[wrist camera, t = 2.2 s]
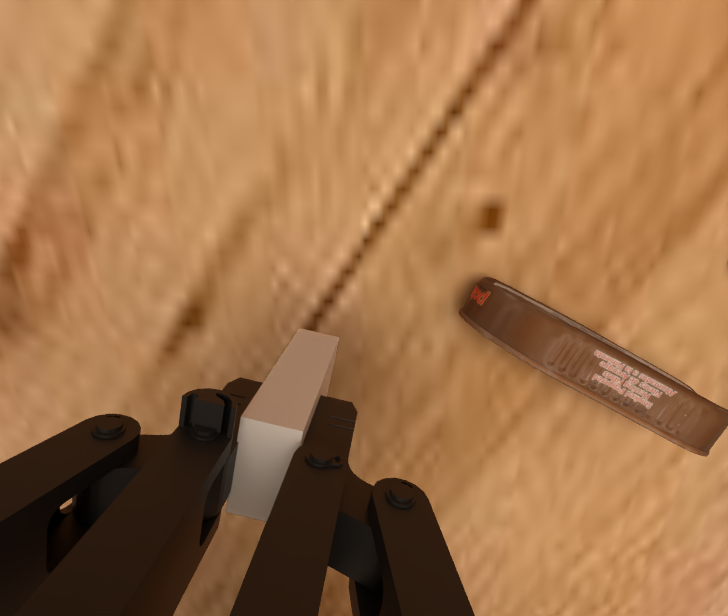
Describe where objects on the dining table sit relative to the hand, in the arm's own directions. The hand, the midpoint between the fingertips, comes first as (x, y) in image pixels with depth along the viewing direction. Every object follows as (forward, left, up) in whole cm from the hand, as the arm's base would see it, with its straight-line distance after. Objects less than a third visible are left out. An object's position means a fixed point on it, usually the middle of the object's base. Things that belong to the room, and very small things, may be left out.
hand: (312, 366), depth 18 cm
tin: (0, -14, -14) cm, 20 cm away
